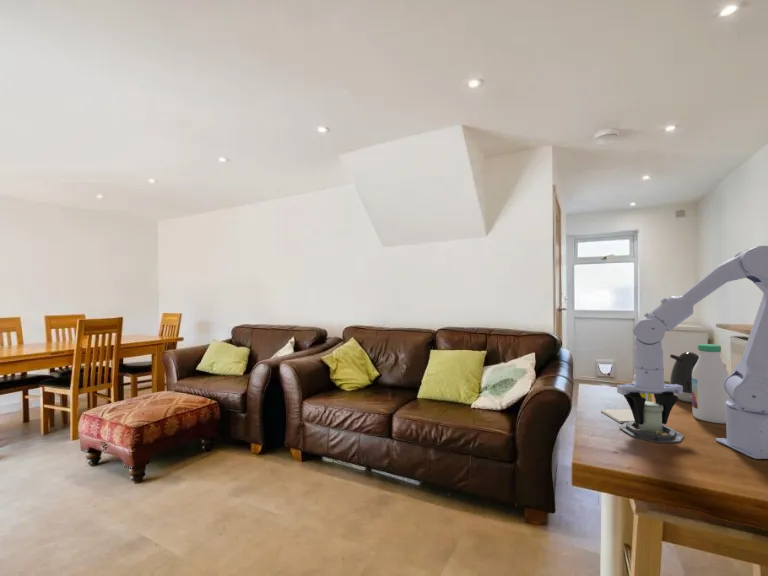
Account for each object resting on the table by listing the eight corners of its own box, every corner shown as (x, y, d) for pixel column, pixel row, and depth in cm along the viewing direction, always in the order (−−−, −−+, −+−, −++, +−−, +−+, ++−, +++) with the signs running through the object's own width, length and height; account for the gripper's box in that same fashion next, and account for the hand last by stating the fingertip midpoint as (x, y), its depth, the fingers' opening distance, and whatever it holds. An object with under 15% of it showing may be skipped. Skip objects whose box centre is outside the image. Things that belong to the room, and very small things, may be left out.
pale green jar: (670, 437, 86) (669, 408, 86) (648, 437, 87) (647, 408, 87) (653, 428, 92) (652, 400, 92) (632, 428, 93) (631, 400, 93)
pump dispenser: (662, 395, 119) (660, 349, 119) (698, 396, 118) (696, 349, 118) (682, 405, 109) (680, 354, 109) (721, 406, 107) (720, 355, 108)
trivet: (655, 422, 96) (655, 420, 96) (620, 423, 96) (620, 420, 96) (632, 411, 105) (632, 409, 105) (601, 411, 105) (601, 409, 105)
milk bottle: (737, 421, 95) (735, 345, 96) (720, 426, 93) (718, 347, 93) (703, 412, 103) (700, 341, 103) (686, 416, 100) (684, 343, 100)
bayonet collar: (695, 442, 83) (695, 435, 83) (642, 443, 84) (642, 435, 84) (658, 423, 95) (658, 417, 95) (611, 423, 96) (611, 417, 96)
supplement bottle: (645, 401, 114) (644, 374, 114) (655, 405, 109) (654, 377, 109) (629, 400, 115) (628, 374, 115) (638, 405, 110) (637, 377, 110)
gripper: (667, 363, 93) (668, 416, 93) (609, 364, 94) (610, 417, 94) (689, 369, 86) (690, 427, 86) (626, 370, 87) (628, 427, 87)
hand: (650, 422), depth 90 cm, fingers closed on pale green jar, 5 cm apart
